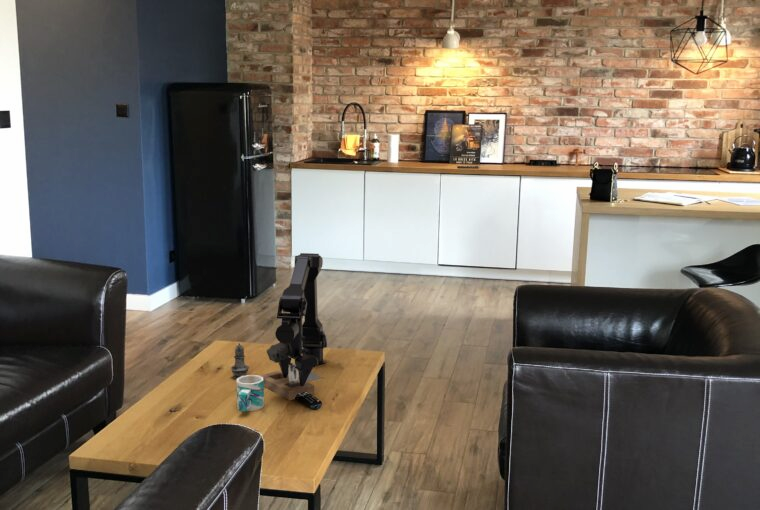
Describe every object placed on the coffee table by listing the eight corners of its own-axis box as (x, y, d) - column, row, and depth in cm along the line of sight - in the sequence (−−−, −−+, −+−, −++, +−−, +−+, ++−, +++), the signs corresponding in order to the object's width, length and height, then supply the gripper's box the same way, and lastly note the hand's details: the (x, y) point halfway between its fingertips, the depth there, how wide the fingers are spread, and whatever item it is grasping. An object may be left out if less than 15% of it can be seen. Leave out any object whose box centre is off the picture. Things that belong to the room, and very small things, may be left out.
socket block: (258, 384, 260) (258, 375, 259) (282, 378, 265) (282, 369, 265) (289, 401, 246) (289, 391, 246) (314, 394, 252) (313, 385, 251)
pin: (295, 391, 254) (294, 362, 253) (300, 393, 252) (300, 364, 250) (287, 393, 253) (286, 364, 251) (292, 396, 250) (291, 366, 248)
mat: (305, 370, 273) (305, 369, 273) (322, 378, 266) (322, 377, 266) (280, 376, 267) (280, 375, 267) (297, 385, 260) (297, 384, 260)
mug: (267, 401, 246) (266, 375, 244) (256, 416, 234) (256, 389, 233) (241, 400, 247) (240, 373, 245) (229, 415, 235) (228, 388, 234)
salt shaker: (251, 375, 268) (250, 340, 266) (246, 381, 262) (245, 346, 260) (233, 374, 269) (232, 339, 266) (228, 380, 263) (227, 345, 261)
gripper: (254, 331, 251) (255, 379, 254) (287, 346, 236) (288, 396, 240) (284, 325, 257) (285, 371, 261) (318, 339, 243) (319, 388, 247)
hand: (293, 381), depth 252 cm, fingers open, 9 cm apart
